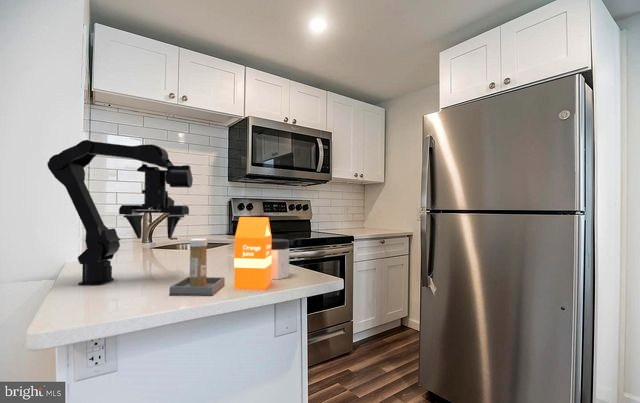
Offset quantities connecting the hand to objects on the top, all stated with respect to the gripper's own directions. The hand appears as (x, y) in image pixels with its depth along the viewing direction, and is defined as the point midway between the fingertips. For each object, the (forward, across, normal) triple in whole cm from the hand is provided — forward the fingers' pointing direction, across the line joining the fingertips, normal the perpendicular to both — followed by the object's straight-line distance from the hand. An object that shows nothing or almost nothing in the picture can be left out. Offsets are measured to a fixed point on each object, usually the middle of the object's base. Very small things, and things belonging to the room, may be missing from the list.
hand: (154, 238), depth 97 cm
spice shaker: (+13, -17, +9) cm, 23 cm away
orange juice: (+13, -31, +4) cm, 34 cm away
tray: (+13, -17, +9) cm, 23 cm away
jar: (+13, -36, -8) cm, 39 cm away
